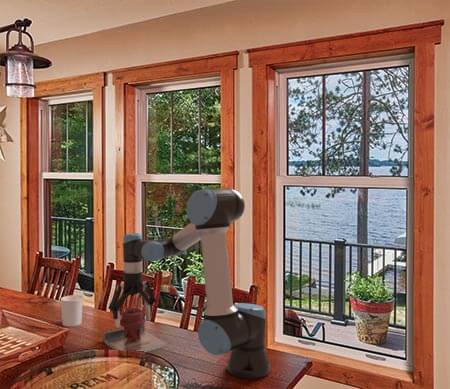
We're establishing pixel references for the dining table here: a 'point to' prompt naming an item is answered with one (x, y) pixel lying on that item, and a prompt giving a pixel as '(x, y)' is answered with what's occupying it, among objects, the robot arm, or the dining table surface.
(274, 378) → the dining table surface
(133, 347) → the rack plate
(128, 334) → the mechanical component
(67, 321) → the candle holder
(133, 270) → the robot arm
